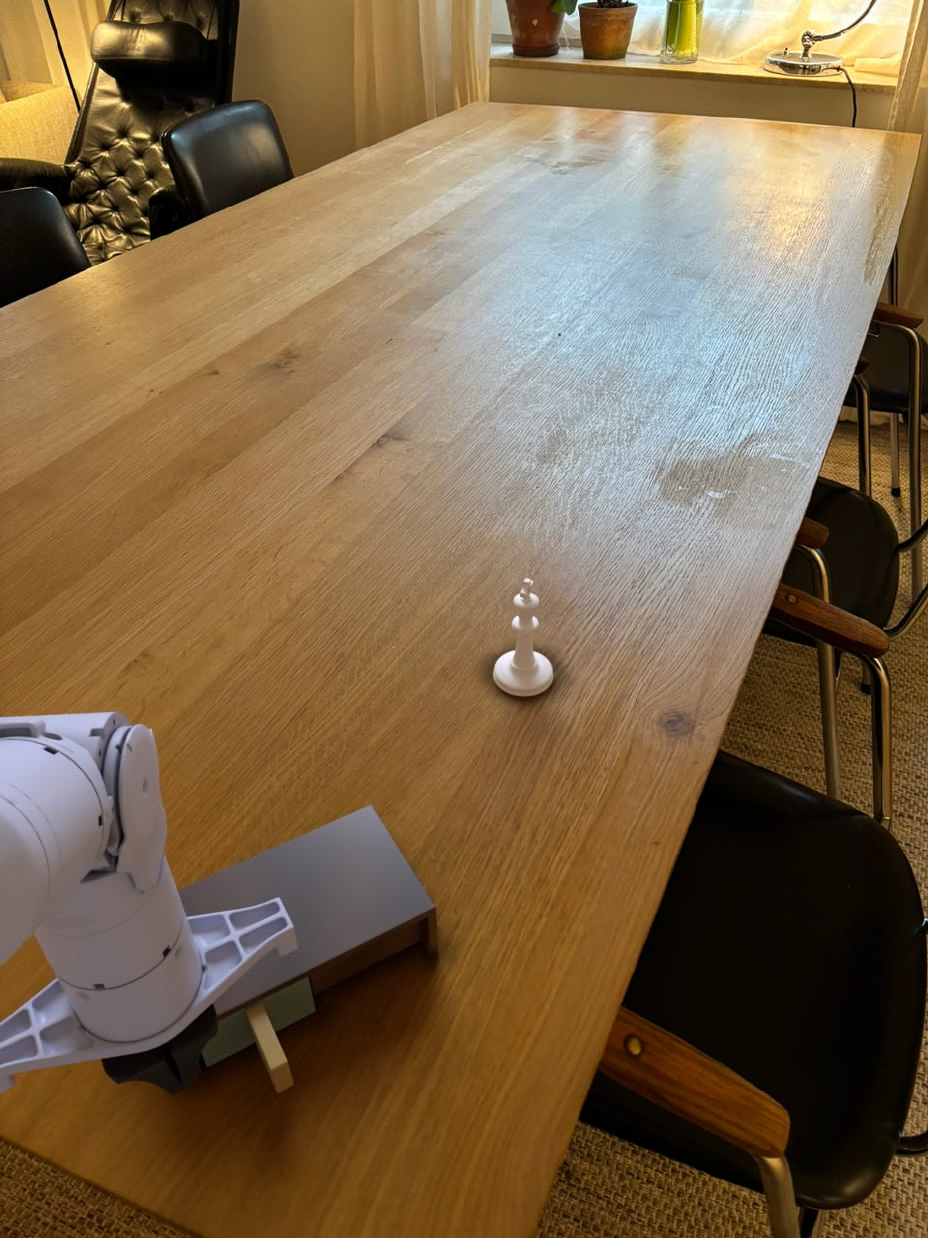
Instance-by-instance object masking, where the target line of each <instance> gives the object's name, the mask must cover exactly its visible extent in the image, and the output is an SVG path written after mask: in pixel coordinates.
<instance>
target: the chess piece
mask: <svg viewBox="0 0 928 1238" xmlns="http://www.w3.org/2000/svg"><path fill="white" fill-rule="evenodd" d="M534 581H535V580H532V579H531V578H527V577H525V578H524V579H523V582H522V589H521V590H520V592H519V593H518V594H516V595H515V596H514V598H513V601H512V604H513V607H514V609H515V611H516V616H515V617H514V618H513V619H512V621H511V627H512V629H513V630H514V631H515V632H516V633H518V634H517V638H516V645H515V649H514V650H510V651H508V652H506V653H504V654H502V655H501V656H500V657H499V658H498V659H497V660H496V662H495V664H494V668H493V673H492V677H493V680H494V683H495V685H497V687H498V688H499V689H500V690H502V691H504V692H505V693H508V694H509V695H511V696H516V697H532V696H536V695H540V694H541V693H543V692H545V691H546V690H547V689H549V687H550V686H551V685H552V683H553V681H554V670H553V665H552V663H551V662H550V660H549V659H548V658H547V657H546V656H545V655H543V654H541V653H540V652H537V651H535V650H534V646H533V645H534V644H533V637H532V636H533V635H532V634H533V633H535V632H537V630H538V629H539V627H540V623H539V620H538V619H537V617H536V616H535V614H536V611H537V610H538V608H539V606H540V598H539V597H538V596H537V595H536V594H534V593H532V592H531V590H532V589H533V587H534V583H535V582H534Z"/></svg>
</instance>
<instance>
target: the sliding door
mask: <svg viewBox="0 0 928 1238" xmlns="http://www.w3.org/2000/svg"><path fill="white" fill-rule="evenodd" d="M313 995H314V994H313V992H312V989H311V986H310V981H309V977H306V978H304V979H302V980H300V981H298V982H296V983H294V984H292V985H290V986H288V987H286V988H284V989H282V990H280V991H278V992H276V993H274V994H272V995H270V996H268V997H266V998H264V999H262V1000H260V1001H258V1002H256V1003H254V1004H252V1005H250V1006H248V1007H246V1008H244V1009H242V1010H240V1011H238V1012H236V1013H234V1014H232V1015H230V1016H228V1017H226V1018H224V1019H222V1020H220V1021H218V1032H217V1035H215V1036H214V1037H213V1038H212V1039H211V1040H210V1041H209V1042H208V1043H207V1044H206V1045H205V1047H204V1049H203V1050H202V1052H201V1056H202V1058H203V1061H204V1064H205V1066H206V1067H207V1068H208V1067H211V1066H212V1065H215V1064H217V1063H218V1062H220V1061H222V1060H224V1059H226V1058H228V1057H230V1056H232V1055H234V1054H236V1053H238V1052H239V1051H242V1050H243V1049H245V1048H248V1047H249V1046H252V1045H253V1044H256V1046H257V1047H256V1048H257V1049H258V1051H259V1054H260V1056H261V1059H262V1061H263V1063H264V1066H265V1068H266V1070H267V1073H268V1075H269V1078H270V1081H271V1082H272V1085H273V1087H274V1089H275V1091H276V1093H277V1094H279V1093H281V1092H283V1091H286V1090H287V1089H289V1088H290V1087H293V1086H294V1085H295V1084H294V1080H293V1076H292V1072H291V1069H290V1065H289V1061H288V1059H287V1057H286V1055H285V1052H284V1049H283V1047H282V1045H281V1043H280V1041H279V1038H278V1036H277V1034H276V1033H277V1032H279V1031H280V1030H283V1029H284V1028H286V1027H288V1026H290V1025H292V1024H294V1023H297V1022H298V1021H300V1020H303V1019H304V1018H305V1017H308V1016H309V1015H312V1014H314V1013H315V1012H316V1006H315V1001H314V996H313Z"/></svg>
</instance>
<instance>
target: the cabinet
mask: <svg viewBox="0 0 928 1238" xmlns="http://www.w3.org/2000/svg"><path fill="white" fill-rule="evenodd" d="M383 822H384V821H383V820H382V818H380V816H379V814H378V813H377V811H376V810H375V808H374V806H373V805H372V804H369V805H367V806H365V807H362V808H360V809H357V810H356V811H353V812H351V813H349V814H346V815H344V816H342V817H340V818H337V819H335V820H333V821H331V822H329V823H325V824H323V825H322V826H319V827H317V828H315V829H312V830H310V831H308V832H305V833H303V834H301V835H299V836H296V837H294V838H292V839H289V840H288V841H285V842H283V843H281V844H278V845H276V846H274V847H272V848H271V847H270V848H269V849H267V850H265V851H262V852H261V853H258V854H256V855H253V856H251V857H249V858H247V859H244V860H242V861H240V862H238V863H235V864H233V865H231V866H229V867H226V868H224V869H221V870H219V871H217V872H215V873H212V874H210V875H208V876H205V877H203V878H201V879H199V880H197V881H195V882H192V883H190V884H188V885H186V886H183V887H181V888H179V889H177V891H178V894H179V897H180V900H181V903H182V906H183V909H184V912H185V914H186V917H191V916H198V915H204V914H211V913H218V912H224V911H231V910H238V909H243V908H248V907H253V906H256V905H260V904H263V903H265V902H268V901H270V900H273V899H275V898H277V897H279V898H280V900H281V902H282V904H283V906H284V908H285V910H286V912H287V914H288V916H289V918H290V920H291V922H292V924H293V926H294V930H295V934H296V939H297V943H298V949H297V950H294V951H292V952H290V953H288V954H286V955H284V956H277V954H276V953H275V951H274V948H273V949H272V950H270V951H269V952H268V953H267V954H266V955H264V956H263V957H262V958H261V959H260V960H259V961H258V962H257V963H255V964H254V965H253V966H252V967H251V968H250V969H249V970H248V971H247V972H246V973H245V974H243V975H242V976H241V977H240V978H239V979H238V980H237V981H236V982H235V983H234V984H233V985H231V986H230V987H229V988H228V989H227V990H226V991H225V992H224V993H223V994H222V995H221V996H219V997H218V998H217V999H216V1000H215V1001H214V1002H213V1005H214V1007H215V1010H216V1013H217V1017H218V1021H220V1020H222V1019H224V1018H226V1017H228V1016H230V1015H232V1014H234V1013H236V1012H238V1011H240V1010H242V1009H244V1008H246V1007H248V1006H250V1005H252V1004H254V1003H256V1002H258V1001H260V1000H262V999H264V998H266V997H268V996H270V995H272V994H274V993H276V992H278V991H280V990H282V989H284V988H286V987H288V986H290V985H292V984H294V983H296V982H298V981H300V980H302V979H304V978H306V977H309V981H310V986H311V990H312V995H316V994H318V993H320V992H323V991H324V990H326V989H328V988H330V987H332V986H334V985H336V984H338V983H340V982H341V981H344V980H346V979H348V978H350V977H352V976H353V975H355V974H358V973H359V972H361V971H364V970H365V969H368V968H369V967H371V966H373V965H375V964H377V963H379V962H381V961H383V960H384V959H387V958H389V957H391V956H393V955H395V954H397V953H399V952H401V951H403V950H405V949H407V948H409V947H410V946H413V945H414V944H416V943H418V942H420V941H421V943H422V945H423V946H424V948H425V949H426V951H427V954H428V955H429V956H433V955H435V954H437V953H438V952H439V941H438V940H439V939H438V938H439V937H438V917H437V915H438V914H437V906H436V905H435V903H434V901H433V900H432V898H431V897H430V895H429V894H428V892H427V890H426V889H425V888H424V886H423V884H422V883H421V880H419V877H418V876H417V875H416V873H415V871H414V870H413V868H412V866H411V865H410V863H409V862H408V861H407V859H406V857H405V856H404V854H403V853H402V851H401V849H400V847H399V846H398V844H397V843H396V841H395V840H394V838H393V836H392V835H391V833H390V831H389V830H388V828H387V826H386V825H385V824H384V823H383ZM202 1074H203V1068H202V1066H201V1063H200V1061H199V1062H198V1066H197V1072H196V1077H198V1076H201V1075H202Z"/></svg>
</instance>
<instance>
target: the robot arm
mask: <svg viewBox="0 0 928 1238" xmlns="http://www.w3.org/2000/svg"><path fill="white" fill-rule="evenodd" d="M167 837H168V825H167V814H166V811H165V808H164V804H163V800H162V795H161V786H160V768H159V757H158V750H157V744H156V740H155V736H154V732H153V729H152V728H148V727H147V726H145V725H144V724H142V723H138V724H135V725H132V723H131V721H130V719H129V717H127V716H125V713H124V712H122V711H107V712H105V711H104V712H85V713H65V714H64V713H63V714H61V713H60V714H42V715H21V716H19V715H18V716H0V967H1V966H2V965H3V964H5V963H6V962H7V961H9V959H10V958H12V956H13V955H14V954H15V953H16V952H17V951H18V950H19V949H20V948H21V947H22V946H23V945H24V944H25V943H26V942H27V941H28V940H29V939H30V937H31V936H32V935H33V937H34V938H35V940H36V942H37V944H38V945H39V947H40V949H41V951H42V952H43V955H44V957H45V959H46V960H47V963H48V964H49V966H50V968H51V970H52V972H53V974H54V976H55V977H56V978H55V979H54V980H52V981H51V982H50V983H49V984H47V985H46V986H45V987H44V988H43V989H41V990H40V991H39V992H38V993H37V994H35V995H34V996H32V997H31V998H30V999H29V1000H28V1001H26V1002H25V1003H24V1004H23V1005H22V1006H20V1007H19V1008H18V1009H17V1010H15V1011H14V1012H13V1013H12V1014H10V1015H9V1016H8V1017H6V1018H5V1019H3V1020H2V1021H1V1022H0V1095H1V1094H3V1093H5V1092H7V1091H9V1090H11V1089H13V1087H14V1085H15V1083H16V1082H15V1081H16V1080H15V1076H14V1075H16V1074H20V1073H25V1072H30V1071H35V1070H36V1071H37V1070H41V1069H42V1070H43V1069H47V1068H54V1067H55V1068H56V1067H59V1066H66V1065H73V1064H77V1063H85V1062H91V1061H96V1060H100V1062H101V1064H102V1067H103V1070H104V1072H105V1074H106V1075H107V1076H108V1077H109V1079H111V1081H113V1082H114V1083H115V1084H116V1085H121V1084H124V1083H128V1082H145V1083H149V1084H152V1085H155V1086H156V1087H159V1088H161V1089H162V1090H164V1091H165V1092H167V1093H168V1094H169V1095H171V1096H175V1095H176V1094H178V1093H180V1092H182V1091H184V1090H186V1089H187V1088H190V1087H192V1086H194V1085H196V1083H197V1081H198V1080H197V1076H196V1072H197V1066H198V1062H199V1063H200V1057H201V1056H202V1053H201V1052H202V1050H203V1049H204V1047H205V1045H206V1044H207V1043H208V1042H209V1041H210V1040H211V1039H212V1038H213V1037H214V1036H215V1035H217V1032H218V1017H217V1013H216V1010H215V1007H214V1005H213V1002H214V1001H215V1000H216V999H217V998H218V997H219V996H221V995H222V994H223V993H224V992H225V991H226V990H227V989H228V988H229V987H230V986H231V985H233V984H234V983H235V982H236V981H237V980H238V979H239V978H240V977H241V976H242V975H243V974H245V973H246V972H247V971H248V970H249V969H250V968H251V967H252V966H253V965H254V964H255V963H257V962H258V961H259V960H260V959H261V958H262V957H263V956H264V955H266V954H267V953H268V952H269V951H270V950H272V949H273V948H274V951H275V953H276V954H277V956H284V955H286V954H288V953H290V952H292V951H294V950H297V949H298V943H297V939H296V934H295V930H294V926H293V924H292V922H291V920H290V918H289V916H288V914H287V912H286V910H285V908H284V906H283V904H282V902H281V900H280V898H279V897H277V898H275V899H273V900H270V901H268V902H265V903H263V904H260V905H256V906H253V907H248V908H243V909H238V910H231V911H224V912H218V913H211V914H204V915H198V916H191V917H186V914H185V912H184V909H183V906H182V903H181V900H180V897H179V894H178V891H177V890H178V888H177V885H176V882H175V879H174V877H173V874H172V871H171V868H170V865H169V862H168V860H167V857H166V854H165V847H166V842H167Z"/></svg>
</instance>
